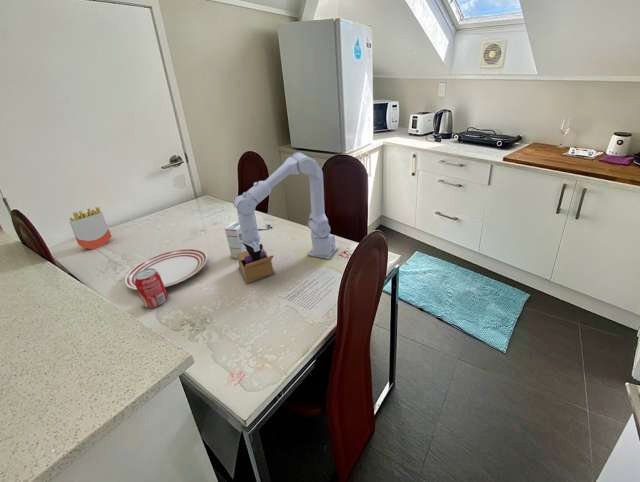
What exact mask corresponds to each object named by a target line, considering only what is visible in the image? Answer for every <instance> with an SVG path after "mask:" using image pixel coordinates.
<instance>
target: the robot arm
mask: <svg viewBox="0 0 640 482" xmlns="http://www.w3.org/2000/svg"><path fill="white" fill-rule="evenodd" d="M300 173H301V174H303V175H306V176H308V180H309V194H310V195H309V196H310V212H311V213H309V215H308V216H309V218H308V221H307V227H308V228H309V230H310V238H311V239H310V240H311V248H312V250H311V251H310V252H309V254H308V256H311V257H315V258H316V257H317V258H321V259H326V260H327V259H328V260H329V259H330V258H331V257H332V256H333V255H334V253H335V252H336V251H337V248H336V247H337V246H336V237H335V236H334V235H332V234H331V226H330V225H329V219H328V217H327V216H326V213H325V209H326V208H325V190H324V189H325V188H324V172H323V170H322V168H321V167H320V166H319V164H318V162H317V161H316V160H315V159H314V158H312V157H310V156H308V155H306V154H304V153H303V152H300V151H298V152H297V151H296V152H294V153H293V154H292V155H291V156H289V157H287V158H286V159H285V161H283V163H282V164H281V165H280V166H279V167H278V168H277V169H276V170H275V171H274V172H272V173H271V174H270V175H269V176H268V177H267V178H266V179H265V180H259V181H255V182H254V183H253V186H252V187H250V188H249V189H248V190H247V191H244V192H242V194H240V195H238V196H237V197H235V199H234V202H233V206H234V207H235V209H236V212H237V219H238V222H239V224H240V229H241V234H242V238H243V239H242V240H239V242H240V244H244V245H245V247H246V250H247V251H248V253H249V255H251V258H252V260H253V262H255V261H258V260H260V254H261V250H262V248H263V249H264V245H263V244H262V243H260V242H261V235H260V234H259V232H260V231H259V227H258V222H257V217H256V213H255V211H256V207H257V206H258V205H259V204H260V203H261V202H262V201H263V200H265V199H266V198H267V197H268V196H270V194H271V193H272V189H273V188H274V187H275V186H277V185H278V184H279V183H280V182H281V181H283V180H284V179H286V178H287V177H289V176H290V175H300Z"/></svg>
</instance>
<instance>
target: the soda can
mask: <svg viewBox="0 0 640 482" xmlns="http://www.w3.org/2000/svg"><path fill="white" fill-rule="evenodd" d="M135 285H136V288H137V290H136V291H137V293H138V296H139V299H140V301H141V303H142V305H143V306H144V307H145V308H156V307H159V306H161V305H162V304H163V303H164V302H165V301H167V299H168V295H167V291H166V287H164V284H163V282H162V279H161V276H160V274H159V273H158V272H157V271H156V270H155V269H153V268H150V269H145V270H142V271H140V272H138V273H137V274H136V275H135Z"/></svg>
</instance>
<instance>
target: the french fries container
mask: <svg viewBox="0 0 640 482" xmlns="http://www.w3.org/2000/svg"><path fill="white" fill-rule="evenodd" d="M86 209H87V212H83V211H82V210H79V211H75V212H72V215H73V217H69V225H70V227H71V229H72V233H73V235H74V238H75V240H76V242H77V245H78V246H80V247H81V248H84V249H89V250H93V249H96V248H99V247H102V246H104V245H107V244H108V242H109V241H110V240H111V239H112V233H111V232H110V229H109V226H108V224H107V221H106V219H105V216H104V214H103V212H102V211H101V209H100V207H99V206H95V209H90V208H86Z"/></svg>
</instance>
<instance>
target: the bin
mask: <svg viewBox="0 0 640 482" xmlns="http://www.w3.org/2000/svg"><path fill="white" fill-rule="evenodd" d="M261 251H264V253H265V254H266V258H267V257H269V255H268V254H267V252H266V250H265V249H264V247H263V248H262V250H261ZM246 256H249V253H248V251H245V252H242V253H238V254H237V258H236V259H237V262H238V267H239V269H240V271H241V274H242V275H243V277H244V279H245V281H246V283H247V284H249V283H252V282H255V281H257V280H260V279H263V278H266V277H268V276H271V275H273V274H274V270H273V263H272V259H271V260H270V261H267V262H264V263H261V264H259V265H256V266H253V267H250V268H247V269H244V268H245V265H246V262H245V257H246Z"/></svg>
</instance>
